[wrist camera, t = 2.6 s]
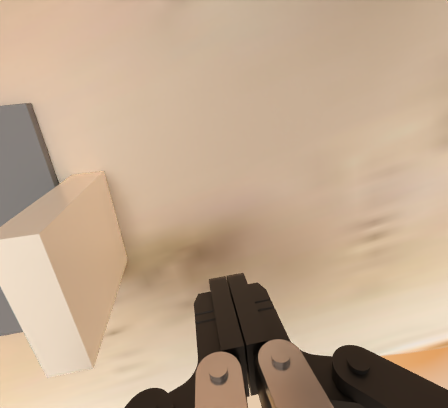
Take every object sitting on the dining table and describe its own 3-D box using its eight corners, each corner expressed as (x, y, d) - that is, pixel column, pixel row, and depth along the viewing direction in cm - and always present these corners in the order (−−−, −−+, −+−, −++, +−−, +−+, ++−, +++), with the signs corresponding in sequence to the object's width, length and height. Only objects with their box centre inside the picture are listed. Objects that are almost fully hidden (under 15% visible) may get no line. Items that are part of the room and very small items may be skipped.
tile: (68, 175, 18) (-30, 243, 9) (103, 170, 18) (38, 234, 10) (97, 264, 20) (41, 379, 12) (127, 259, 20) (93, 368, 12)
